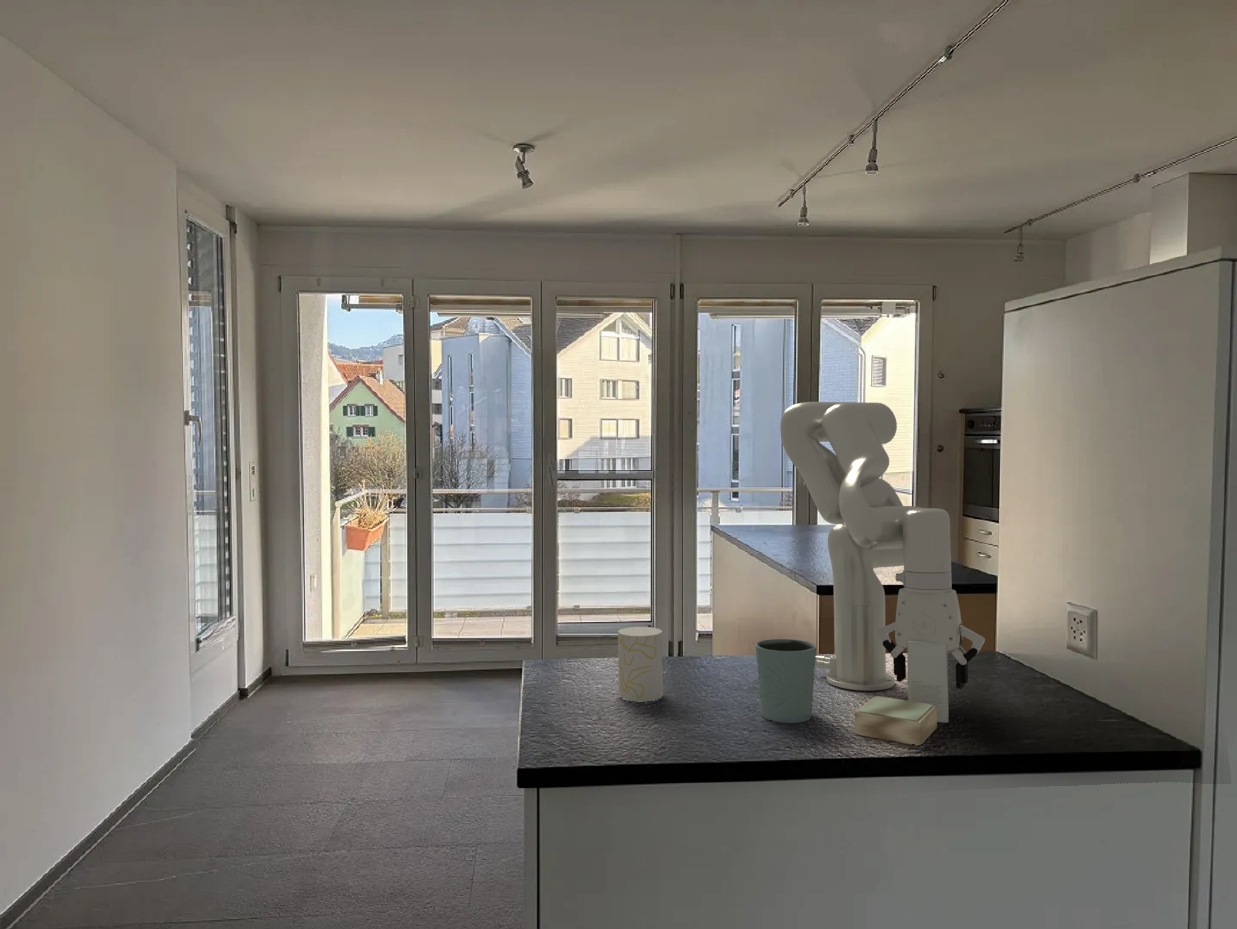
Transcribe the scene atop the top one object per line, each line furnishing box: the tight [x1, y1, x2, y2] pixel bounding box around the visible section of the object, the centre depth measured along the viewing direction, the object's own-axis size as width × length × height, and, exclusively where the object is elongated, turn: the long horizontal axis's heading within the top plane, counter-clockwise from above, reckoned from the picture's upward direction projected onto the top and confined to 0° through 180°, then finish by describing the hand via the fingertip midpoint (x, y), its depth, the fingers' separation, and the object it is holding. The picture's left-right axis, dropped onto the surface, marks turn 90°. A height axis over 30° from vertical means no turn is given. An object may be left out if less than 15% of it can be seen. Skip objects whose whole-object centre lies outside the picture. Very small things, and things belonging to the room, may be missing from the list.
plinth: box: [854, 695, 938, 746], centre depth 132 cm, size 10×10×4 cm
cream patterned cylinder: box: [617, 626, 664, 702], centre depth 153 cm, size 8×8×12 cm
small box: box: [906, 640, 949, 724], centre depth 140 cm, size 8×6×13 cm
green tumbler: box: [754, 638, 817, 724], centre depth 141 cm, size 10×10×12 cm
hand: (930, 683), depth 139 cm, fingers open, 9 cm apart
